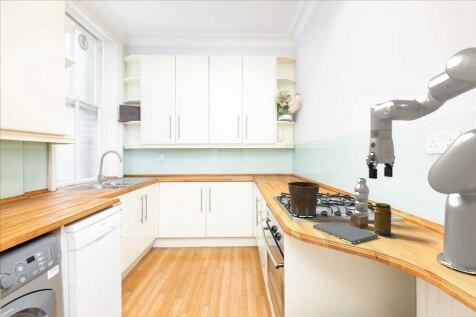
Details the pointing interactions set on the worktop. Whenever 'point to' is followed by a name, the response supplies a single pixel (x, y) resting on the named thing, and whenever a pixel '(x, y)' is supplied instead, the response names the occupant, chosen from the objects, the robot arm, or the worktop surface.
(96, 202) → the worktop surface
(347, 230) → the slate board
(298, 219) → the worktop surface
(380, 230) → the condiment
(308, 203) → the plant pot
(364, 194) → the plastic bottle
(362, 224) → the walnut block
